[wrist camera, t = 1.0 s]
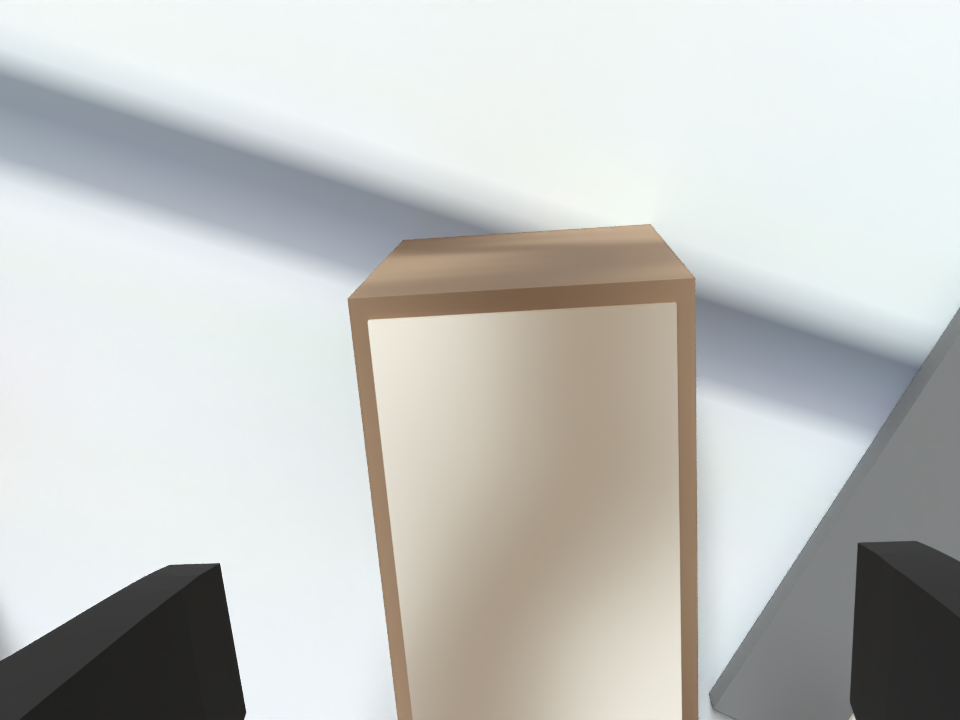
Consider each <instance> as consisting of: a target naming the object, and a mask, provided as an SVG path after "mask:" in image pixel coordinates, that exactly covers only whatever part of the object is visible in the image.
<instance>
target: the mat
mask: <svg viewBox="0 0 960 720" xmlns="http://www.w3.org/2000/svg"><path fill="white" fill-rule="evenodd" d="M891 541H918V542H920V543H923V544H925V545H927V546H930V547H932V548H934V549H936V550H938V551H940V552H942V553H944V554H946V555H948V556H950V557H952V558H954V559H956V560H958V561H960V308H959V310H958V311H957V313H956V314H955V316H954V317H953V319H952V320H951V322H950V323H949V325H948V327H947V328H946V330H945V331H944V333H943V334H942V336H941V337H940V339H939V340H938V342H937V343H936V345H935V347H934V348H933V350H932V351H931V353H930V354H929V356H928V357H927V359H926V360H925V362H924V363H923V365H922V367H921V368H920V370H919V371H918V373H917V374H916V376H915V377H914V379H913V380H912V382H911V384H910V385H909V387H908V388H907V390H906V391H905V393H904V394H903V396H902V397H901V399H900V400H899V402H898V404H897V405H896V407H895V408H894V410H893V411H892V413H891V414H890V416H889V417H888V419H887V420H886V422H885V424H884V425H883V427H882V428H881V430H880V431H879V433H878V434H877V436H876V437H875V439H874V440H873V442H872V444H871V445H870V447H869V448H868V450H867V451H866V453H865V454H864V456H863V457H862V459H861V460H860V462H859V464H858V465H857V467H856V468H855V470H854V471H853V473H852V474H851V476H850V477H849V479H848V480H847V482H846V484H845V485H844V487H843V488H842V490H841V491H840V493H839V494H838V496H837V497H836V499H835V500H834V502H833V504H832V505H831V507H830V508H829V510H828V511H827V513H826V514H825V516H824V517H823V519H822V520H821V522H820V524H819V525H818V527H817V528H816V530H815V531H814V533H813V534H812V536H811V537H810V539H809V540H808V542H807V544H806V545H805V547H804V548H803V550H802V551H801V553H800V554H799V556H798V557H797V559H796V560H795V562H794V564H793V565H792V567H791V568H790V570H789V571H788V573H787V574H786V576H785V577H784V579H783V580H782V582H781V584H780V585H779V587H778V588H777V590H776V591H775V593H774V594H773V596H772V597H771V599H770V600H769V602H768V604H767V605H766V607H765V608H764V610H763V611H762V613H761V614H760V616H759V617H758V619H757V620H756V622H755V624H754V625H753V627H752V628H751V630H750V631H749V633H748V634H747V636H746V637H745V639H744V640H743V642H742V644H741V645H740V647H739V648H738V650H737V651H736V653H735V654H734V656H733V657H732V659H731V660H730V662H729V664H728V665H727V667H726V668H725V670H724V671H723V673H722V674H721V676H720V677H719V679H718V681H717V682H716V684H715V685H714V687H713V688H712V690H711V691H710V693H709V695H710V698H711V702H712V705H713V709H714V710H717V711H719V712H721V713H723V714H726V715H728V716H730V717H732V718H735V719H737V720H856V719H855V716H854V713H853V710H852V707H851V705H850V685H851V665H852V645H853V625H854V606H855V586H856V566H857V546H858V543H860V542H891Z"/></svg>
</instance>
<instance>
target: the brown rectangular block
mask: <svg viewBox="0 0 960 720" xmlns="http://www.w3.org/2000/svg"><path fill="white" fill-rule="evenodd" d="M348 306H349V314H350V323H351V331H352V339H353V348H354V356H355V364H356V373H357V381H358V390H359V398H360V406H361V415H362V423H363V431H364V440H365V448H366V457H367V465H368V473H369V482H370V490H371V499H372V507H373V515H374V524H375V532H376V540H377V549H378V557H379V566H380V574H381V582H382V591H383V599H384V607H385V616H386V624H387V633H388V641H389V649H390V658H391V666H392V675H393V683H394V691H395V700H396V708H397V716H398V720H698V623H697V472H696V322H695V277H694V276H693V275H692V274H691V272H690V271H689V270H688V269H687V268H686V266H685V265H684V264H683V263H682V262H681V260H680V259H679V258H678V257H677V256H676V254H675V253H674V252H673V251H672V250H671V248H670V247H669V246H668V245H667V244H666V242H665V241H664V240H663V239H662V238H661V236H660V235H659V234H658V233H657V232H656V230H655V229H654V228H653V227H652V226H651V224H645V225H630V226H614V227H599V228H584V229H568V230H553V231H537V232H522V233H506V234H491V235H475V236H460V237H444V238H429V239H413V240H403V241H402V242H401V243H400V244H399V245H398V246H397V247H396V248H395V249H394V250H393V251H392V253H391V254H390V255H389V256H388V257H387V258H386V259H385V260H384V261H383V262H382V263H381V264H380V265H379V266H378V267H377V268H376V269H375V270H374V272H373V273H372V274H371V275H370V276H369V277H368V278H367V279H366V280H365V281H364V282H363V283H362V284H361V285H360V286H359V287H358V288H357V289H356V290H355V292H354V293H353V294H352V295H351V296H350V297H349V298H348Z"/></svg>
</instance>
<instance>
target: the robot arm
mask: <svg viewBox="0 0 960 720" xmlns="http://www.w3.org/2000/svg"><path fill="white" fill-rule="evenodd" d="M850 705H851V707H852V710H853V713H854V716H855V719H856V720H960V561H958V560H956V559H954V558H952V557H950V556H948V555H946V554H944V553H942V552H940V551H938V550H936V549H934V548H932V547H930V546H927V545H925V544H923V543H920V542H918V541H891V542H860V543H858V546H857V566H856V586H855V606H854V625H853V645H852V665H851V685H850ZM245 715H246V709H245V703H244V697H243V692H242V686H241V680H240V675H239V669H238V663H237V658H236V652H235V646H234V641H233V635H232V629H231V624H230V618H229V612H228V607H227V601H226V595H225V590H224V584H223V578H222V573H221V567H220V563H214V564H183V565H168V566H166V567H164V568H162V569H159V570H157V571H155V572H153V573H151V574H149V575H147V576H145V577H143V578H141V579H140V580H138V581H136V582H134V583H132V584H130V585H129V586H127V587H125V588H123V589H122V590H120V591H118V592H117V593H115V594H113V595H111V596H110V597H108V598H106V599H105V600H103V601H101V602H100V603H98V604H96V605H95V606H93V607H91V608H89V609H88V610H86V611H84V612H83V613H81V614H79V615H78V616H76V617H74V618H73V619H71V620H69V621H68V622H66V623H64V624H63V625H61V626H59V627H58V628H56V629H54V630H53V631H51V632H49V633H48V634H46V635H44V636H43V637H41V638H39V639H38V640H36V641H34V642H33V643H31V644H29V645H28V646H26V647H24V648H23V649H21V650H19V651H17V652H16V653H14V654H12V655H11V656H9V657H7V658H5V659H3V660H2V661H0V720H244V718H245Z"/></svg>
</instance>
